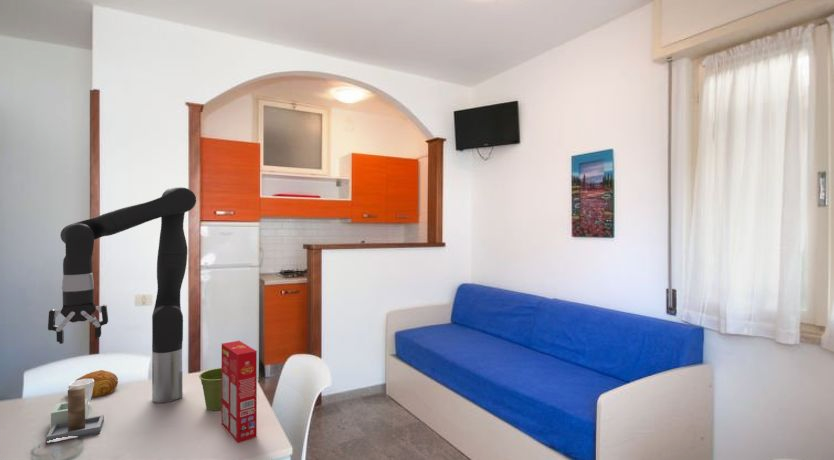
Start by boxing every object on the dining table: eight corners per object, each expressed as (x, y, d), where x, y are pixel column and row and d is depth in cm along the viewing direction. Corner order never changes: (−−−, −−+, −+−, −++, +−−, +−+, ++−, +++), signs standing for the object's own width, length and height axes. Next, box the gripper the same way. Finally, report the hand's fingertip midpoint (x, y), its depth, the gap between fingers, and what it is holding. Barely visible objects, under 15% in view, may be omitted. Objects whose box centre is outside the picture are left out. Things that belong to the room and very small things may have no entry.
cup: (76, 411, 137) (76, 387, 137) (58, 406, 141) (57, 382, 141) (99, 403, 144) (99, 379, 144) (81, 398, 148) (81, 376, 147)
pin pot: (88, 413, 136) (88, 398, 136) (83, 423, 129) (83, 407, 129) (57, 419, 132) (57, 403, 132) (50, 429, 125) (50, 413, 125)
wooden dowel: (86, 424, 126) (86, 385, 126) (84, 430, 123) (83, 389, 123) (69, 428, 124) (69, 388, 124) (66, 433, 121) (66, 392, 121)
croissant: (115, 387, 164) (115, 366, 165) (120, 393, 153) (120, 370, 154) (67, 395, 155) (68, 373, 156) (68, 403, 143) (69, 379, 144)
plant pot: (204, 417, 133) (204, 382, 133) (194, 405, 142) (194, 372, 142) (242, 407, 141) (242, 374, 141) (231, 396, 150) (231, 365, 150)
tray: (103, 421, 131) (103, 414, 131) (99, 433, 123) (99, 426, 123) (54, 430, 125) (53, 423, 125) (46, 444, 117) (46, 436, 117)
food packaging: (256, 436, 121) (256, 351, 121) (237, 443, 118) (237, 354, 118) (239, 419, 132) (239, 340, 132) (221, 424, 129) (221, 343, 129)
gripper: (108, 285, 135) (109, 334, 136) (50, 289, 128) (51, 341, 128) (105, 288, 129) (106, 340, 129) (45, 292, 121) (46, 347, 122)
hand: (79, 340), depth 129 cm, fingers open, 8 cm apart
